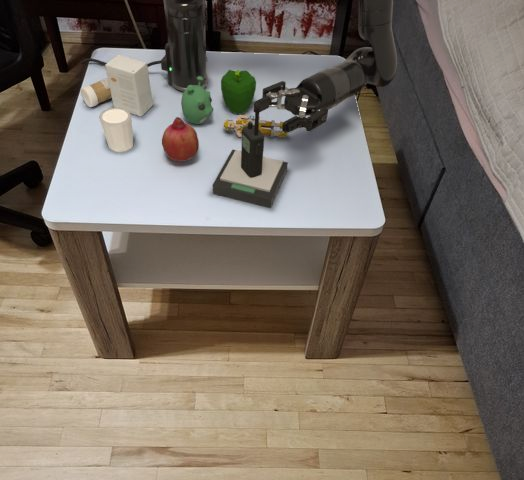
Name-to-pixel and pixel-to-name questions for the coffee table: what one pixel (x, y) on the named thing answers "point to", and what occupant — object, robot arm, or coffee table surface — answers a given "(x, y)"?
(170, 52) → the robot arm
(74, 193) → the coffee table surface
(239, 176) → the scale
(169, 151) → the fruit
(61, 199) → the coffee table surface
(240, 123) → the toy
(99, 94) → the sprinkles bottle
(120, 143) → the white candle
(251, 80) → the bell pepper
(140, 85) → the small box
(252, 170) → the walkie-talkie
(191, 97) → the alien toy
